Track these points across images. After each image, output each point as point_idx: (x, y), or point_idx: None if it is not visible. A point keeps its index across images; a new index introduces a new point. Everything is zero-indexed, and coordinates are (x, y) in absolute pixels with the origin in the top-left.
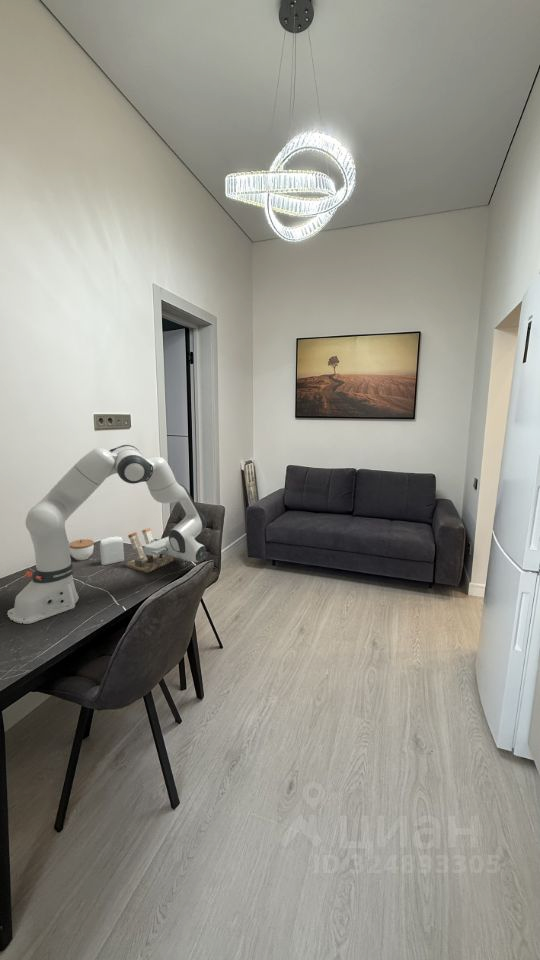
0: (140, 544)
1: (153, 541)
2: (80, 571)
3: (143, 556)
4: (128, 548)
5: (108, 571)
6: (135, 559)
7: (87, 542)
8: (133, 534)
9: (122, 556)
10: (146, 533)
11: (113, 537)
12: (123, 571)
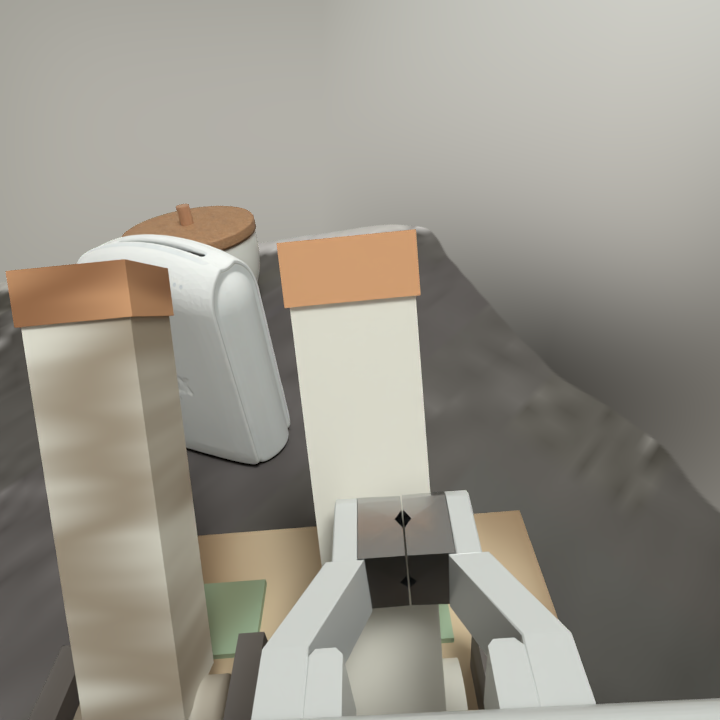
0: (143, 496)
1: (306, 594)
2: (17, 417)
3: (139, 701)
4: (458, 333)
5: (27, 541)
6: (67, 656)
7: (199, 232)
8: (49, 292)
9: (237, 433)
10: (295, 334)
11: (152, 245)
12: (35, 652)
